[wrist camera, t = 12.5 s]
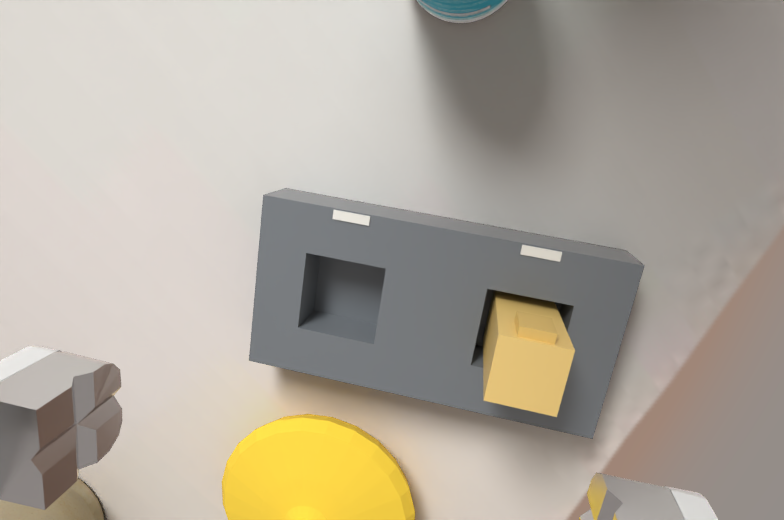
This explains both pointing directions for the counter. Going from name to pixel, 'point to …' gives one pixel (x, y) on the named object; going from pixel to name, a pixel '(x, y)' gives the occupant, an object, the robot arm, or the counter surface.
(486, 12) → the pill bottle
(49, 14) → the counter surface
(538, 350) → the plug
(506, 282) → the jack panel
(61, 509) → the planter bowl
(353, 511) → the yellow round knobbed piece
